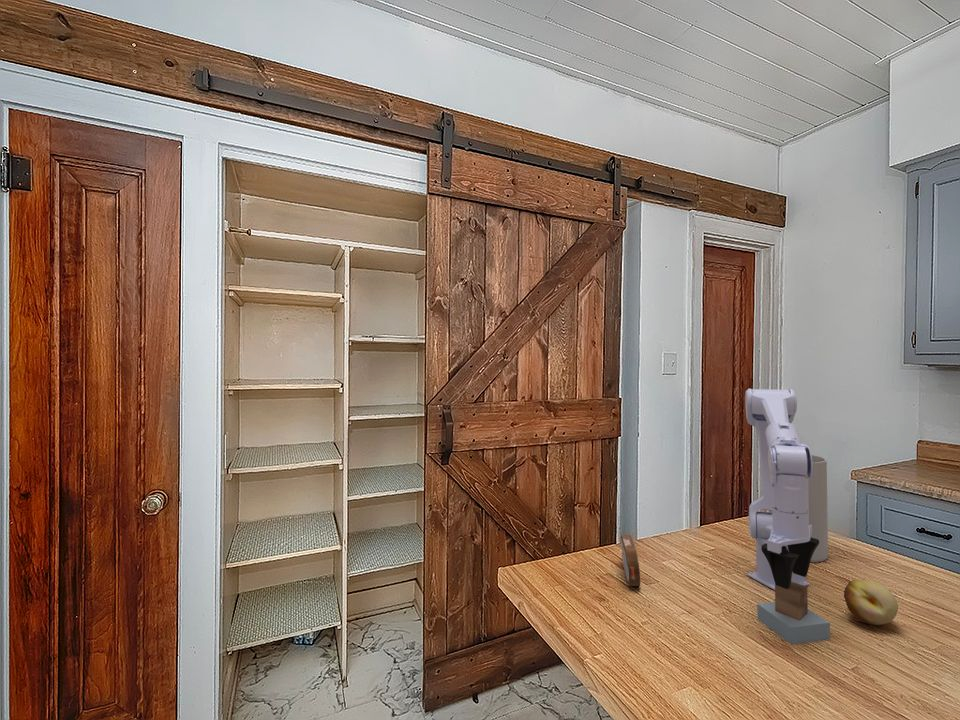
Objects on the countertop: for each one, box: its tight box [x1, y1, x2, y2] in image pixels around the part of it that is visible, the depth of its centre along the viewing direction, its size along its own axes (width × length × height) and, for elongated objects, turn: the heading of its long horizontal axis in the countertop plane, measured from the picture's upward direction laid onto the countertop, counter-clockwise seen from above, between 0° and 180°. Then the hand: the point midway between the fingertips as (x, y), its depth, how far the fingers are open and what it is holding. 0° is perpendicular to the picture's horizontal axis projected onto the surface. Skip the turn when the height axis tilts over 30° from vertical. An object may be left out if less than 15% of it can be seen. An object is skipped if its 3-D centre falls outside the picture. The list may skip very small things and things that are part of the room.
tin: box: [620, 534, 641, 587], centre depth 107 cm, size 15×3×8 cm, turn 168°
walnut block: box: [774, 581, 809, 621], centre depth 86 cm, size 4×4×5 cm
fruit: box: [843, 579, 899, 626], centre depth 87 cm, size 8×8×8 cm
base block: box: [756, 601, 831, 645], centre depth 86 cm, size 8×8×4 cm
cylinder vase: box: [768, 454, 829, 563], centre depth 119 cm, size 12×12×25 cm
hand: (791, 580), depth 86 cm, fingers open, 7 cm apart
